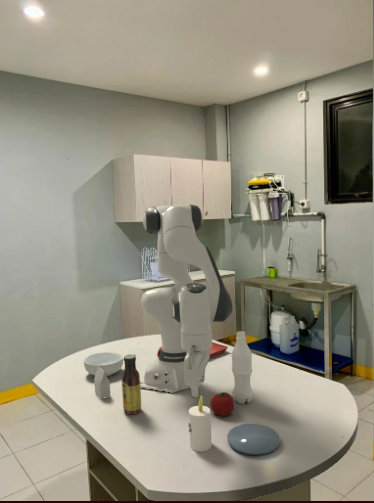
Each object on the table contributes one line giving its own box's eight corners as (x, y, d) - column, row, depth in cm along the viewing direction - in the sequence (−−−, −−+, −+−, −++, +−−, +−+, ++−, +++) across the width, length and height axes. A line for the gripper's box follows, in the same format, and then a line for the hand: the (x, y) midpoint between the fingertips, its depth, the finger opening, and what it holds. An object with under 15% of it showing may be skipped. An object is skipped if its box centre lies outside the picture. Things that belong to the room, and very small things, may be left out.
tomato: (233, 419, 132) (233, 398, 131) (209, 418, 133) (208, 397, 132) (235, 408, 139) (234, 388, 139) (212, 407, 141) (211, 387, 140)
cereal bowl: (111, 383, 164) (110, 366, 164) (76, 379, 170) (75, 363, 169) (130, 368, 180) (129, 352, 180) (98, 365, 186) (97, 350, 185)
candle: (186, 442, 119) (184, 393, 118) (206, 437, 122) (204, 389, 120) (194, 454, 113) (192, 402, 112) (215, 448, 116) (213, 397, 115)
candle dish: (224, 454, 113) (224, 449, 112) (230, 426, 127) (230, 422, 127) (279, 459, 109) (279, 453, 109) (279, 430, 124) (279, 425, 124)
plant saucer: (202, 363, 184) (202, 356, 183) (176, 354, 197) (176, 348, 197) (229, 353, 196) (229, 346, 195) (202, 345, 209) (202, 339, 209)
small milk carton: (101, 399, 150) (99, 373, 149) (95, 393, 156) (93, 368, 155) (110, 396, 152) (108, 371, 151) (104, 390, 158) (102, 365, 157)
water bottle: (254, 397, 147) (252, 330, 145) (251, 406, 140) (249, 336, 138) (235, 395, 149) (233, 329, 147) (230, 404, 142) (228, 334, 140)
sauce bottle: (124, 407, 143) (121, 353, 141) (141, 406, 143) (139, 351, 142) (122, 416, 136) (119, 359, 135) (141, 415, 137) (138, 358, 135)
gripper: (201, 353, 104) (203, 405, 105) (212, 331, 124) (214, 375, 125) (177, 352, 105) (179, 403, 106) (192, 331, 125) (194, 374, 126)
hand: (198, 388), depth 116 cm, fingers open, 8 cm apart
